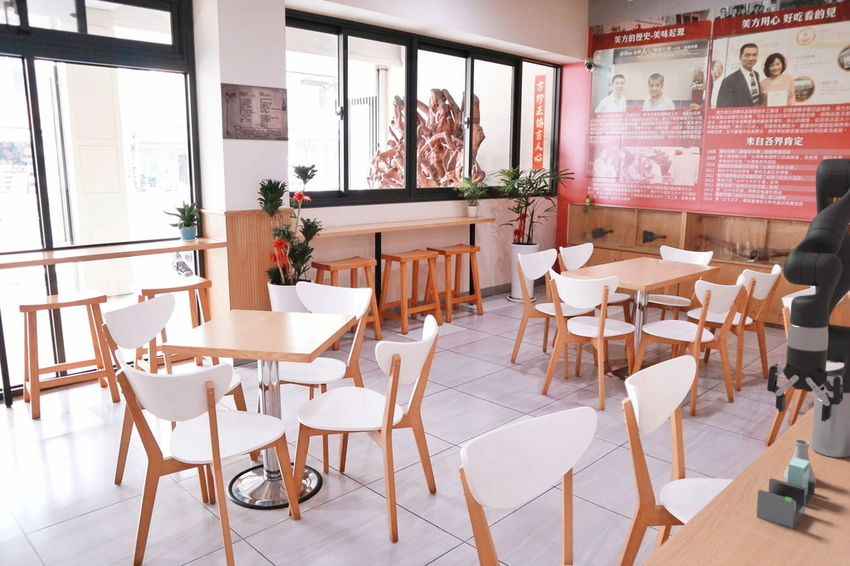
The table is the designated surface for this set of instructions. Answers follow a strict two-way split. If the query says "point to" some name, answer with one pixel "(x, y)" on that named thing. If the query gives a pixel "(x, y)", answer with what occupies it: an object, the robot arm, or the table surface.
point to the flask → (801, 457)
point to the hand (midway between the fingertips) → (802, 415)
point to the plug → (799, 472)
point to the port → (782, 503)
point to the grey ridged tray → (810, 490)
